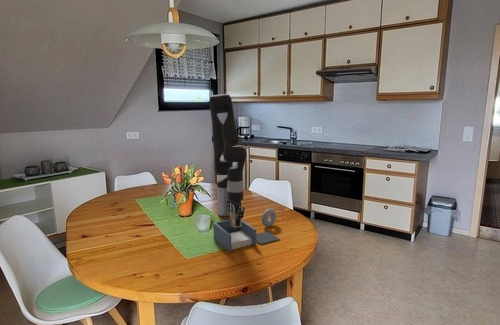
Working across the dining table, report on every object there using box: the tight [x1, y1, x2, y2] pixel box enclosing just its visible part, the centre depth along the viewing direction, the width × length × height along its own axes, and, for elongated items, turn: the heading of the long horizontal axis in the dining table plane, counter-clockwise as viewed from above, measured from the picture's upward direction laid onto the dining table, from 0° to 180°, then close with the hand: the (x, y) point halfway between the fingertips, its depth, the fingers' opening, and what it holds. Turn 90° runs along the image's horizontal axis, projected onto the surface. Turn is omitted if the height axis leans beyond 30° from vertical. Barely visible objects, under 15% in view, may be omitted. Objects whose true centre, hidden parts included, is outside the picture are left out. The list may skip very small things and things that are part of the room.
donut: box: [261, 208, 277, 228], centre depth 171 cm, size 10×3×10 cm, turn 133°
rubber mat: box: [256, 231, 281, 246], centre depth 156 cm, size 11×11×1 cm
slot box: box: [212, 218, 257, 253], centre depth 152 cm, size 18×14×8 cm
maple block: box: [229, 211, 242, 228], centre depth 149 cm, size 4×4×7 cm
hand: (235, 224), depth 150 cm, fingers closed on maple block, 4 cm apart
